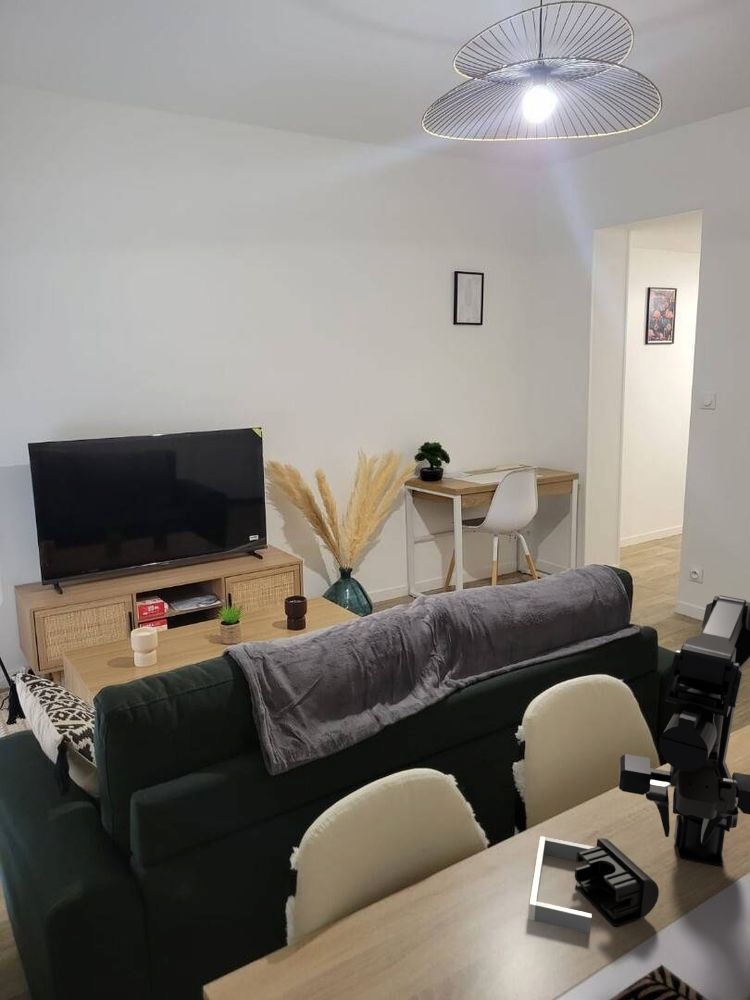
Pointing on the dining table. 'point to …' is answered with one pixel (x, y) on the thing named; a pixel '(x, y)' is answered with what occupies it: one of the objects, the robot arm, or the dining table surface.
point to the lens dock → (552, 912)
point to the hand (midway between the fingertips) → (684, 838)
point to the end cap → (615, 884)
